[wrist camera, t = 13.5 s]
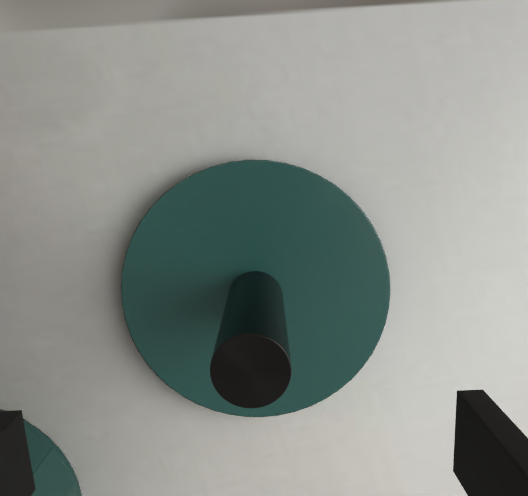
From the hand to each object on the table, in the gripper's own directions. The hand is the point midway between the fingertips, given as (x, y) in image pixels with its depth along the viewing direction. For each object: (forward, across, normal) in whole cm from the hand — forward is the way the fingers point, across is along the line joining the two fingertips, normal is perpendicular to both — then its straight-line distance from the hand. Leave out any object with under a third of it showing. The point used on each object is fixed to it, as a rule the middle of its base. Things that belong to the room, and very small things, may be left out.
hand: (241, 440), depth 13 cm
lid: (+14, 0, 0) cm, 14 cm away
